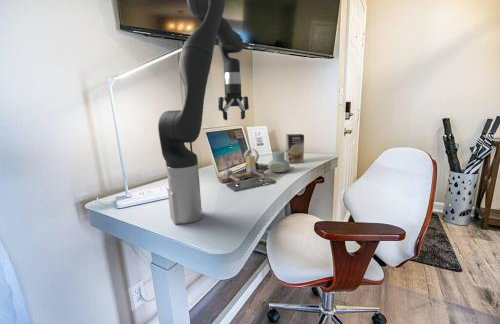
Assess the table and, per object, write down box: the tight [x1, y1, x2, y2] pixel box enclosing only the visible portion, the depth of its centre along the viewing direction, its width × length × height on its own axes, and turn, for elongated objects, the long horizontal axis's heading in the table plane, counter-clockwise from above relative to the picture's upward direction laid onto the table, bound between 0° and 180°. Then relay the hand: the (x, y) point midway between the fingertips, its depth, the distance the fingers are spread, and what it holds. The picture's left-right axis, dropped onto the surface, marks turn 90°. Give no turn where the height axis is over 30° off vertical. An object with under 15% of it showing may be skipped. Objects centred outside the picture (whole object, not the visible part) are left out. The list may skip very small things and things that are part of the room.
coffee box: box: [285, 133, 305, 165], centre depth 147 cm, size 9×6×16 cm
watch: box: [243, 148, 260, 170], centre depth 136 cm, size 6×8×11 cm
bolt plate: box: [225, 175, 276, 192], centre depth 112 cm, size 20×8×1 cm, turn 119°
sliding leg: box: [245, 154, 265, 179], centre depth 118 cm, size 3×13×8 cm, turn 29°
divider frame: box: [218, 168, 265, 184], centre depth 117 cm, size 22×13×5 cm, turn 119°
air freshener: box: [267, 150, 291, 173], centre depth 130 cm, size 11×8×10 cm
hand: (234, 119), depth 120 cm, fingers open, 8 cm apart
